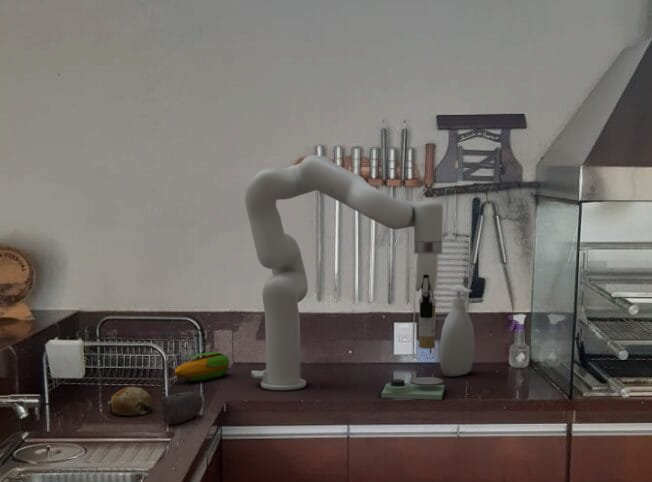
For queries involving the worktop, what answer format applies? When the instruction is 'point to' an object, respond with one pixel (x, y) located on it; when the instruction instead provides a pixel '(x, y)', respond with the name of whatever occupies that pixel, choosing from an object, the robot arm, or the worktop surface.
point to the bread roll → (131, 402)
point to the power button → (397, 382)
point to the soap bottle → (457, 338)
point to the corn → (204, 367)
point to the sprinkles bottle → (427, 329)
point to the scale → (413, 391)
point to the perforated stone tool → (180, 407)
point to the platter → (426, 381)
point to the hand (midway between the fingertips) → (427, 315)
